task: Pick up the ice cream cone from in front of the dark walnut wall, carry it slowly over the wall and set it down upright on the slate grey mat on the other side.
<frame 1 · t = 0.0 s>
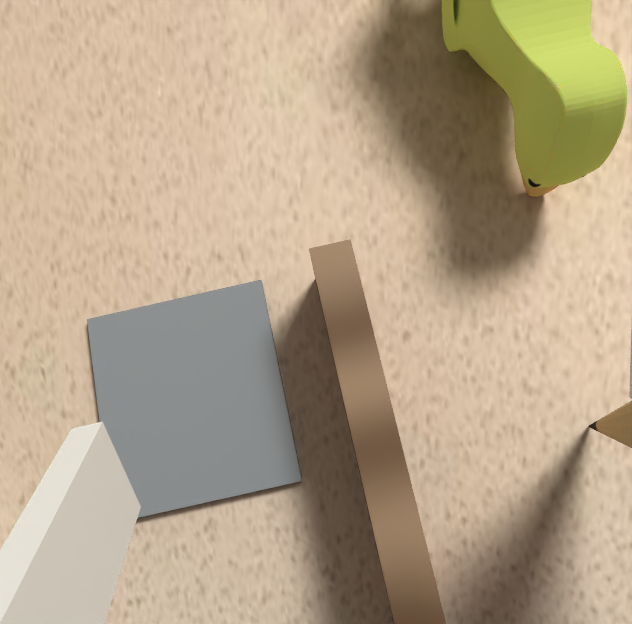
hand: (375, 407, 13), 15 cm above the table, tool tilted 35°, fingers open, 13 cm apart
ice cream cone: (586, 426, 27), on the table
grey mat: (191, 397, 29), on the table
toy: (489, 56, 33), on the table
walnut wall: (375, 453, 28), on the table
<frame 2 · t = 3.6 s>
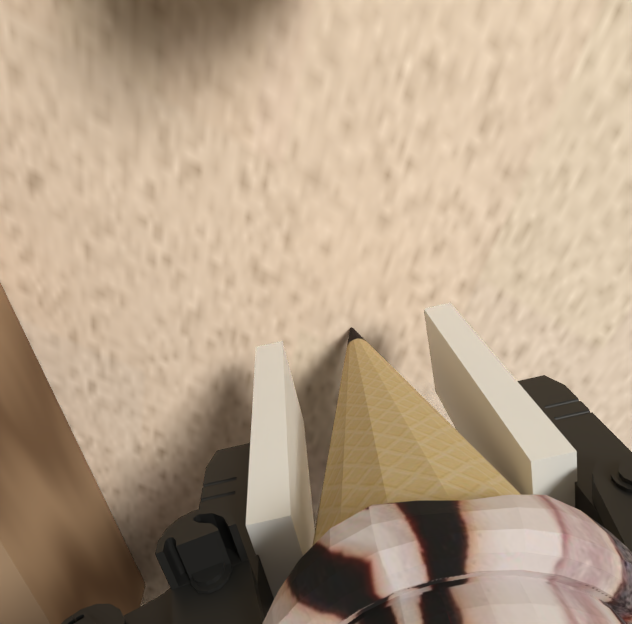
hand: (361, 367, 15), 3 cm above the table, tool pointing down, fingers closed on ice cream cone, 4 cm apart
ice cream cone: (348, 326, 18), on the table, touching gripper
walnut wall: (12, 377, 17), on the table
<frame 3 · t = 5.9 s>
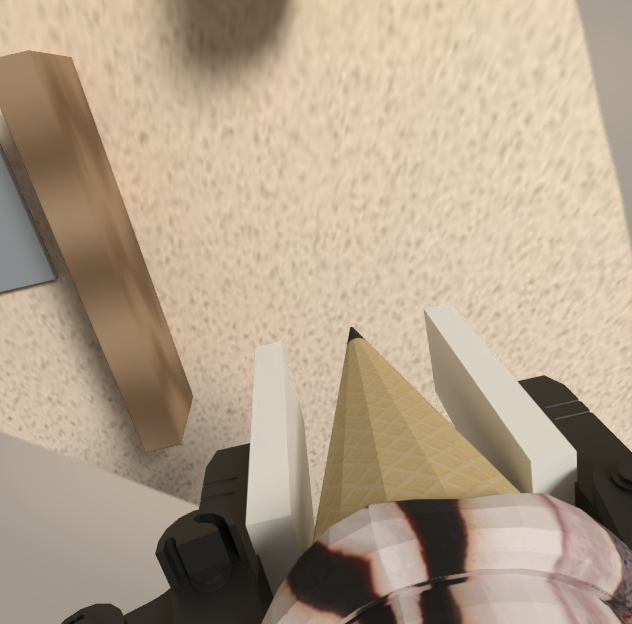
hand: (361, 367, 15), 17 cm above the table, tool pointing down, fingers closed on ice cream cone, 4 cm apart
ice cream cone: (348, 325, 18), point 14 cm above the table, touching gripper
walnut wall: (123, 253, 30), on the table
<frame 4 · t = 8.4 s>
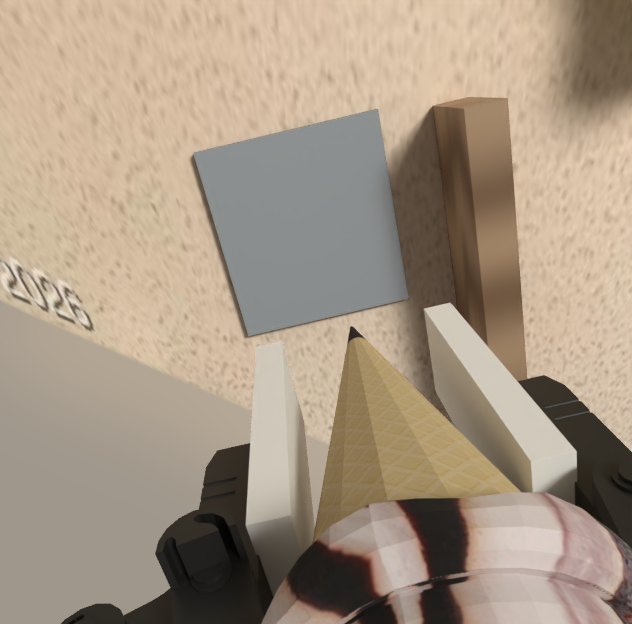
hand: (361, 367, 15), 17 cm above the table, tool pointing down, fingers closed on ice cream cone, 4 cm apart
ice cream cone: (348, 325, 18), point 14 cm above the table, touching gripper
grey mat: (307, 229, 30), on the table
walnut wall: (469, 274, 32), on the table
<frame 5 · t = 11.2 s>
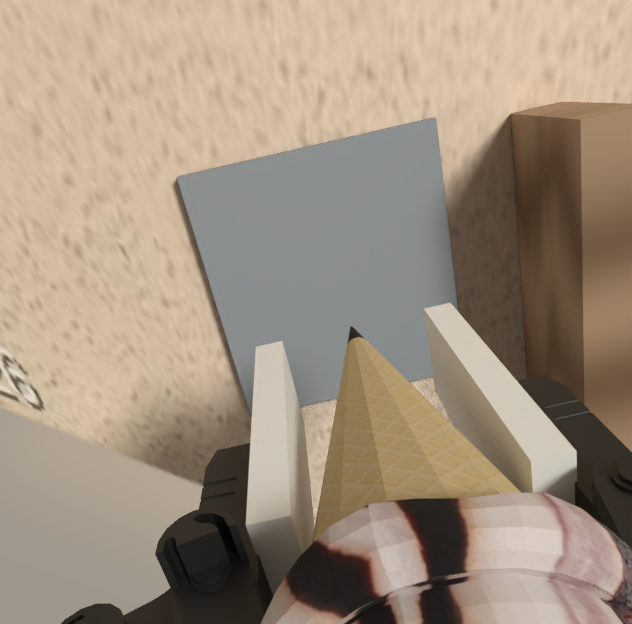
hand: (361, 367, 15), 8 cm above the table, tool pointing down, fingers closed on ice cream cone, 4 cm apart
ice cream cone: (348, 325, 18), point 5 cm above the table, touching gripper
grey mat: (333, 279, 22), on the table
walnut wall: (546, 336, 24), on the table
when the fingers open (3 cm above the table, at t = 13.5 s): ice cream cone stays where it is, resting on grey mat.
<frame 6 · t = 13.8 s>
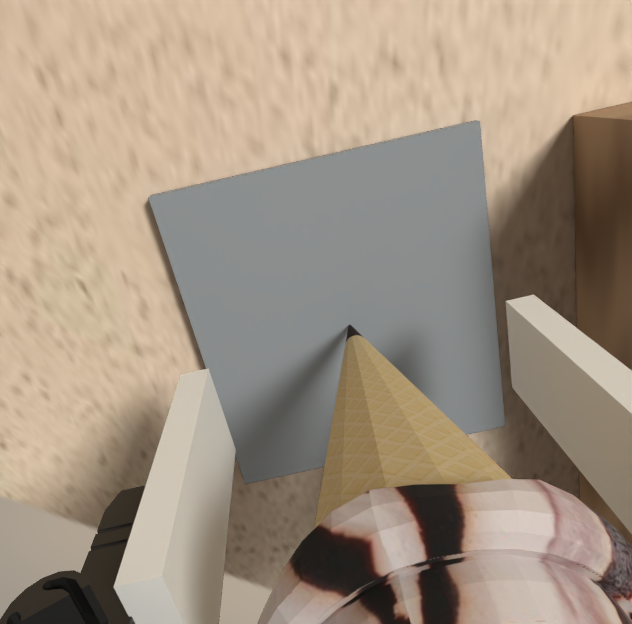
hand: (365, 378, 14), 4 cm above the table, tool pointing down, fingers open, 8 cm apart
ice cream cone: (346, 323, 18), resting on grey mat
grey mat: (346, 320, 18), on the table
walnut wall: (603, 385, 20), on the table
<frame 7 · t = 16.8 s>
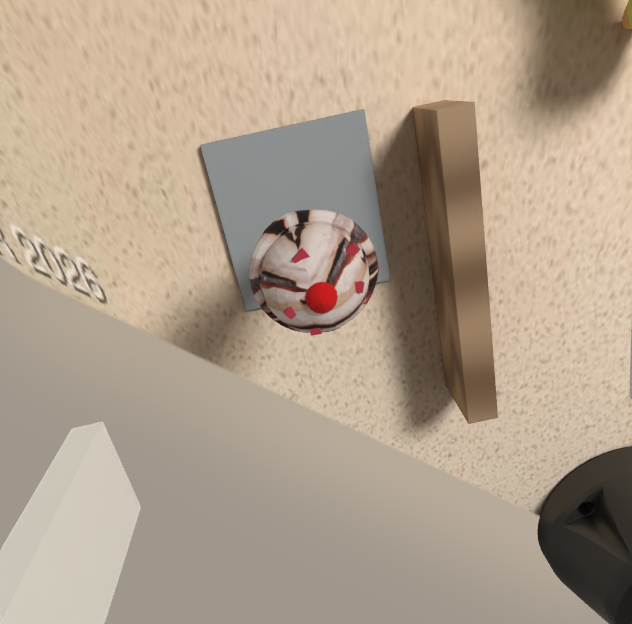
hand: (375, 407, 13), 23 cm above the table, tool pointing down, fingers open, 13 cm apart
ice cream cone: (300, 216, 34), resting on grey mat
grey mat: (300, 215, 34), on the table
walnut wall: (445, 258, 36), on the table
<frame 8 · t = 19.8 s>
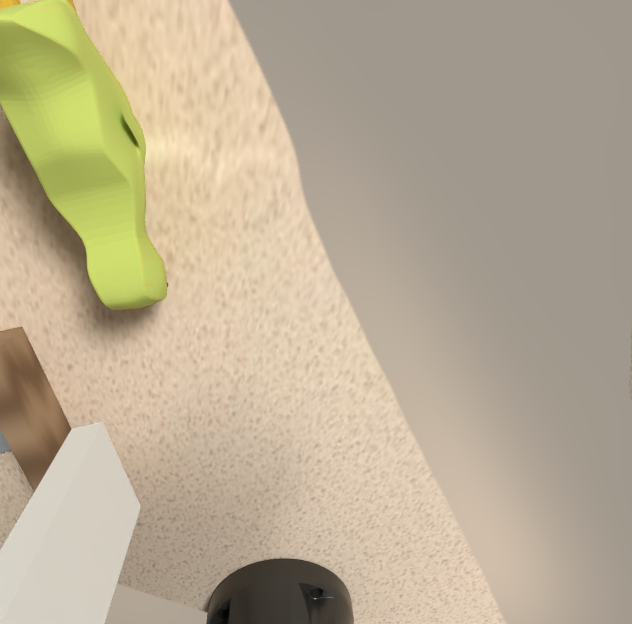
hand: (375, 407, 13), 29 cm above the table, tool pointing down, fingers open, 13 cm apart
toy: (112, 145, 37), on the table
walnut wall: (60, 431, 46), on the table
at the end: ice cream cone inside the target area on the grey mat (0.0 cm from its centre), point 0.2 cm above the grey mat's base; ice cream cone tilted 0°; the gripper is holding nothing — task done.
